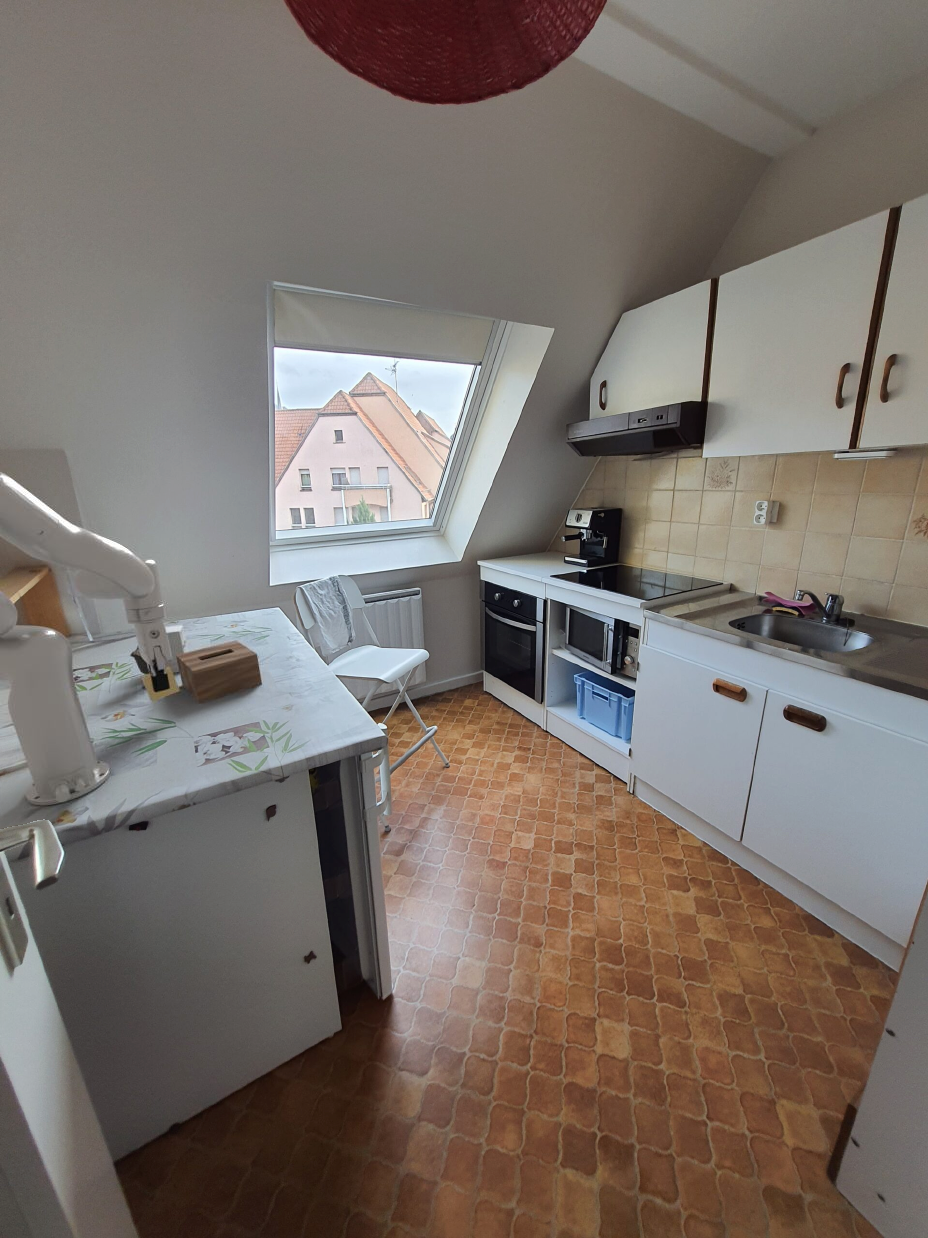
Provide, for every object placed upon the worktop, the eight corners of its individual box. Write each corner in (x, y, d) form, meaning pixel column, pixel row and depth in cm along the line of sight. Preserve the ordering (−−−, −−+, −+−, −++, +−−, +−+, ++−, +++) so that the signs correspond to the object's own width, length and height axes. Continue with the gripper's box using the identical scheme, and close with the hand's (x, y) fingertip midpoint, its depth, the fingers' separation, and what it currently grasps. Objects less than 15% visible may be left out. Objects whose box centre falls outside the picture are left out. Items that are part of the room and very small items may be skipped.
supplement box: (188, 671, 144) (179, 631, 140) (159, 675, 141) (150, 634, 138) (191, 662, 151) (183, 624, 147) (164, 666, 148) (155, 627, 144)
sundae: (153, 691, 131) (141, 639, 126) (132, 689, 132) (119, 638, 128) (172, 681, 137) (160, 631, 132) (152, 680, 138) (140, 630, 134)
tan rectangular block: (179, 690, 116) (171, 668, 114) (152, 701, 112) (142, 678, 110) (177, 688, 117) (168, 666, 115) (149, 699, 113) (140, 676, 111)
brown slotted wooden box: (262, 683, 133) (256, 653, 131) (199, 703, 123) (192, 671, 120) (241, 668, 145) (236, 640, 142) (182, 685, 134) (175, 655, 132)
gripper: (173, 616, 106) (187, 693, 111) (157, 605, 117) (170, 676, 122) (133, 622, 101) (149, 703, 106) (120, 611, 112) (135, 684, 117)
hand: (160, 688), depth 114 cm, fingers closed on tan rectangular block, 1 cm apart
